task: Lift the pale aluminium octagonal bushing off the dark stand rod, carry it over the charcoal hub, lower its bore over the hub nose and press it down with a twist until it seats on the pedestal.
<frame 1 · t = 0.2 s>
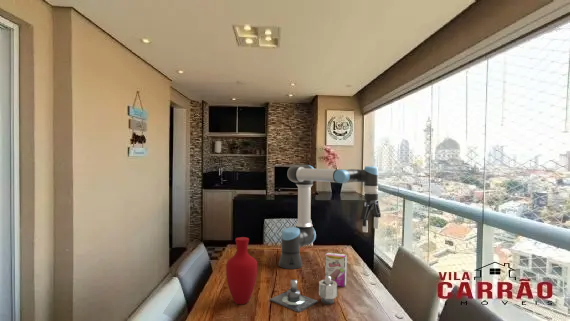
hand: (370, 230, 185), 28 cm above the table, fingers open, 13 cm apart
candy bar box: (335, 284, 175), on the table
bushing: (327, 295, 154), point 3 cm above the table, touching stand
vase: (241, 302, 153), on the table
hub: (293, 301, 153), on the table
stand: (327, 301, 154), on the table
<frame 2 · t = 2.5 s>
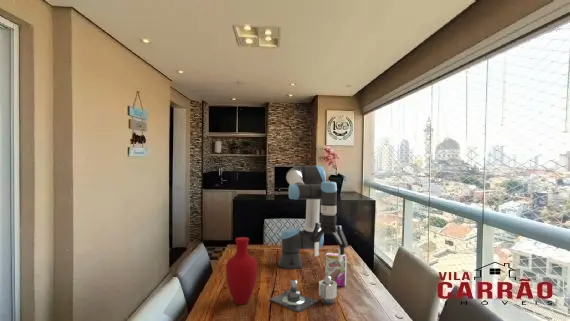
hand: (328, 258, 154), 21 cm above the table, fingers open, 13 cm apart
nothing on the table moved.
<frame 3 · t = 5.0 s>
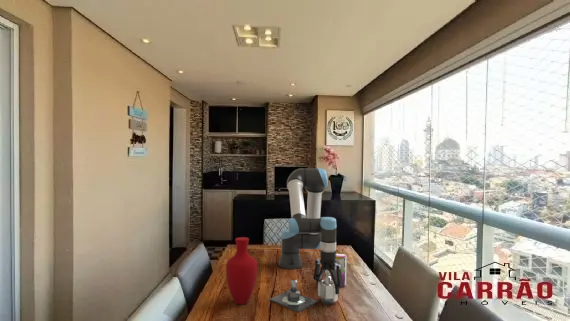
hand: (327, 297, 154), 2 cm above the table, fingers closed on bushing, 8 cm apart
bushing: (327, 295, 154), point 3 cm above the table, touching gripper, stand
everything else where it was.
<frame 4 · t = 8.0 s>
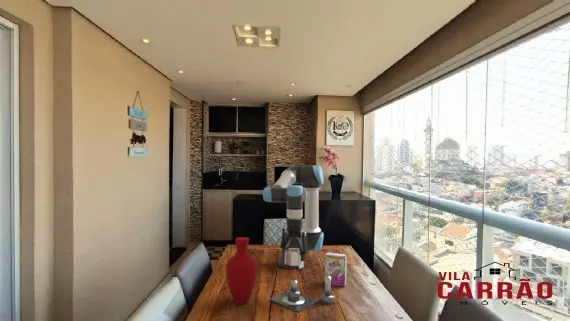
hand: (294, 265, 153), 17 cm above the table, fingers closed on bushing, 8 cm apart
bushing: (294, 262, 153), point 18 cm above the table, touching gripper
everything else where it was.
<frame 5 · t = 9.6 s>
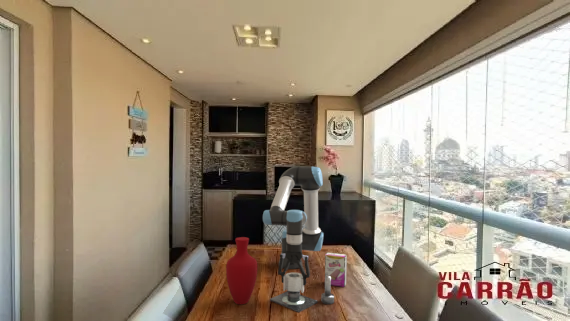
hand: (293, 290, 153), 5 cm above the table, fingers closed on bushing, 8 cm apart
bushing: (293, 288, 153), point 6 cm above the table, touching gripper
everything else where it was.
when the fingers open (4 cm above the table, at t = 10.9 s): bushing stays where it is, resting on hub.
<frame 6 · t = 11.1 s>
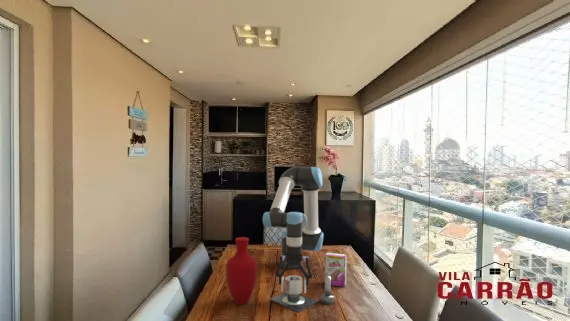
hand: (293, 291, 153), 5 cm above the table, fingers open, 10 cm apart
bushing: (293, 291, 153), point 5 cm above the table, touching hub
everything else where it was.
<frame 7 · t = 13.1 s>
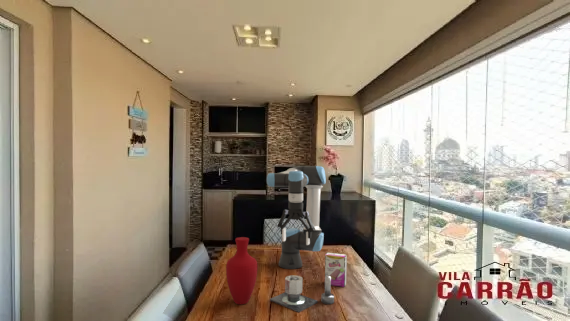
hand: (295, 242, 165), 25 cm above the table, fingers open, 13 cm apart
nothing on the table moved.
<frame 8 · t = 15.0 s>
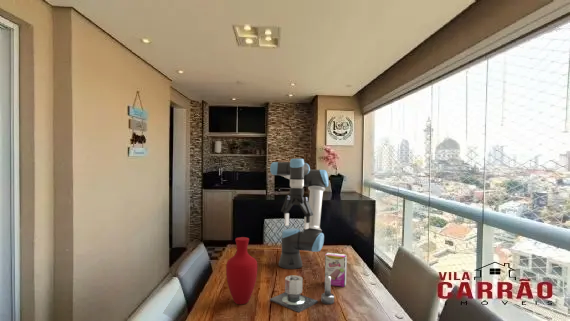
hand: (296, 227, 172), 32 cm above the table, fingers open, 13 cm apart
nothing on the table moved.
at the end: bushing 0.0 cm off-centre on the hub, point 5.0 cm above the hub's base; the gripper is holding nothing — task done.
